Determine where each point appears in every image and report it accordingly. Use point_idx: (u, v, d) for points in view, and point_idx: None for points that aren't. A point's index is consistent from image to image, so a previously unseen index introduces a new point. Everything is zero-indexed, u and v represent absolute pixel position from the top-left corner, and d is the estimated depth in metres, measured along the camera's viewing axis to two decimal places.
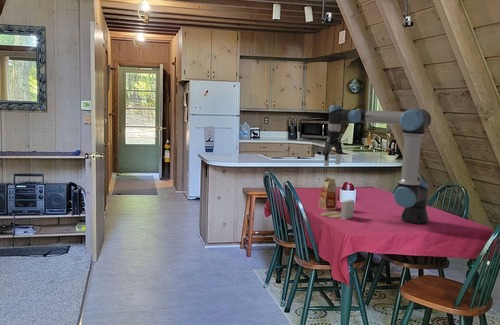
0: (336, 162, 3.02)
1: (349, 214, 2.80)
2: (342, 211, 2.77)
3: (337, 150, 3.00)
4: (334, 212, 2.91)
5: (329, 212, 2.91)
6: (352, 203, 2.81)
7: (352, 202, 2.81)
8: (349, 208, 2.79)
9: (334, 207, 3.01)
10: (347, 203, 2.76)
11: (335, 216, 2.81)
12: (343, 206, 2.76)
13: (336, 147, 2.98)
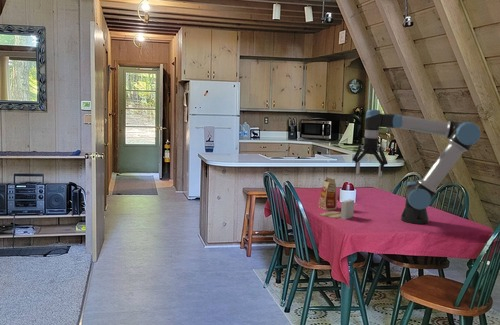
0: None
1: (349, 214, 2.80)
2: (342, 211, 2.77)
3: None
4: (334, 212, 2.91)
5: (329, 212, 2.91)
6: (352, 203, 2.81)
7: (352, 202, 2.81)
8: (349, 208, 2.79)
9: (334, 207, 3.01)
10: (347, 203, 2.76)
11: (335, 216, 2.81)
12: (343, 206, 2.76)
13: None
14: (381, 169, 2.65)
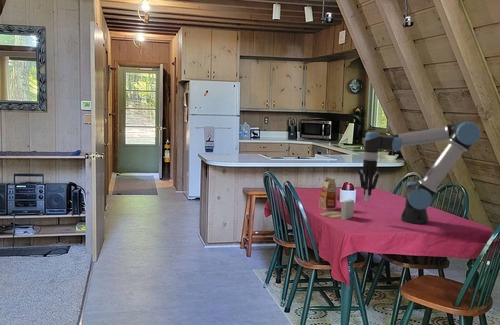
0: None
1: (349, 214, 2.80)
2: (342, 211, 2.77)
3: None
4: (334, 212, 2.91)
5: (329, 212, 2.91)
6: (352, 203, 2.81)
7: (352, 202, 2.81)
8: (349, 208, 2.79)
9: (334, 207, 3.01)
10: (347, 203, 2.76)
11: (335, 216, 2.81)
12: (343, 206, 2.76)
13: None
14: (368, 194, 2.70)
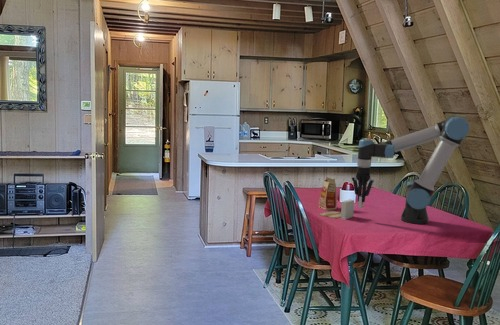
0: None
1: (349, 214, 2.80)
2: (342, 211, 2.77)
3: None
4: (334, 212, 2.91)
5: (329, 212, 2.91)
6: (352, 203, 2.81)
7: (352, 202, 2.81)
8: (349, 208, 2.79)
9: (334, 207, 3.01)
10: (347, 203, 2.76)
11: (335, 216, 2.81)
12: (343, 206, 2.76)
13: None
14: (362, 200, 2.73)
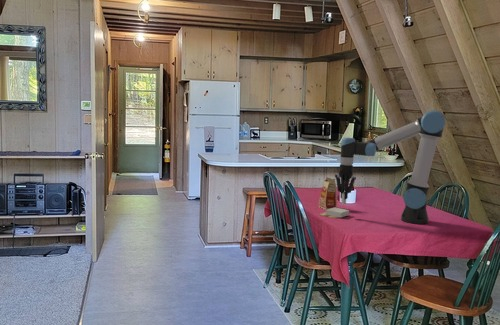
0: None
1: (342, 210, 2.83)
2: (334, 214, 2.81)
3: None
4: None
5: None
6: (335, 208, 2.89)
7: (334, 208, 2.89)
8: (335, 210, 2.84)
9: None
10: (328, 209, 2.85)
11: None
12: (329, 213, 2.82)
13: None
14: (345, 197, 2.80)
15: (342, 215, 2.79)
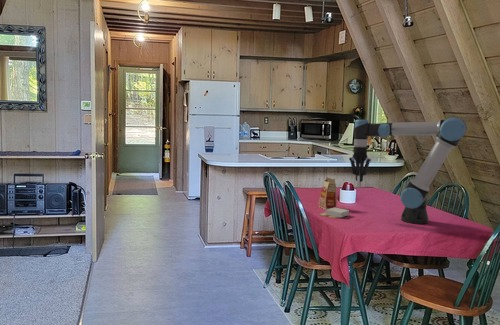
0: None
1: (342, 210, 2.83)
2: (334, 214, 2.81)
3: None
4: None
5: None
6: (335, 208, 2.89)
7: (334, 208, 2.89)
8: (335, 210, 2.84)
9: None
10: (328, 209, 2.85)
11: None
12: (329, 213, 2.82)
13: None
14: (360, 179, 2.78)
15: (342, 215, 2.79)
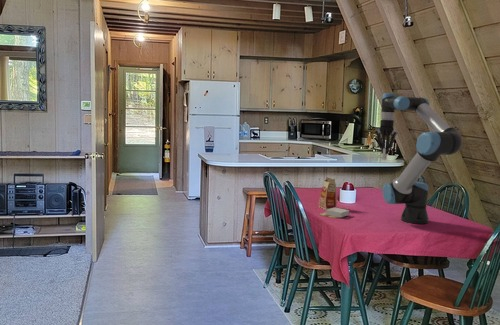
0: None
1: (342, 210, 2.83)
2: (334, 214, 2.81)
3: None
4: None
5: None
6: (335, 208, 2.89)
7: (334, 208, 2.89)
8: (335, 210, 2.84)
9: None
10: (328, 209, 2.85)
11: None
12: (329, 213, 2.82)
13: None
14: (386, 152, 2.84)
15: (342, 215, 2.79)
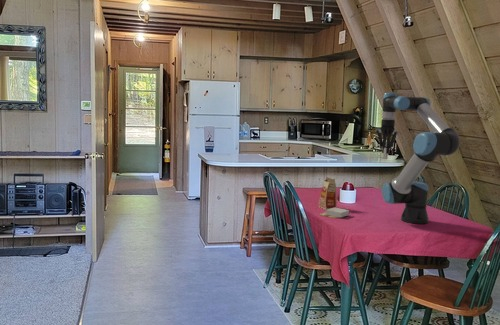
0: None
1: (342, 210, 2.83)
2: (334, 214, 2.81)
3: None
4: None
5: None
6: (335, 208, 2.89)
7: (334, 208, 2.89)
8: (335, 210, 2.84)
9: None
10: (328, 209, 2.85)
11: None
12: (329, 213, 2.82)
13: None
14: (387, 152, 2.85)
15: (342, 215, 2.79)
